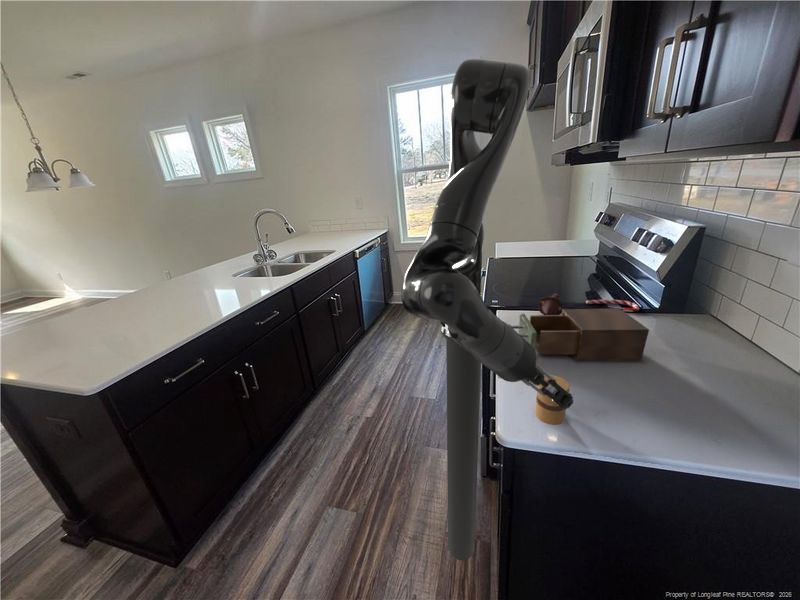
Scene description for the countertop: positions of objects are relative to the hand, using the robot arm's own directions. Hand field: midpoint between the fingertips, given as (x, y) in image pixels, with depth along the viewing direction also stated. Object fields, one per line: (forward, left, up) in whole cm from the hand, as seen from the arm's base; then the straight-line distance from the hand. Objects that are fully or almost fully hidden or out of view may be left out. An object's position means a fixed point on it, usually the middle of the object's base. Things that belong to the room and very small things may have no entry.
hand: (550, 389), depth 59 cm
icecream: (+16, +46, -6) cm, 49 cm away
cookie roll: (+1, 0, -6) cm, 6 cm away
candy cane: (+38, +53, -6) cm, 66 cm away
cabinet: (+21, +26, -6) cm, 34 cm away
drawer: (+7, +26, -5) cm, 27 cm away
